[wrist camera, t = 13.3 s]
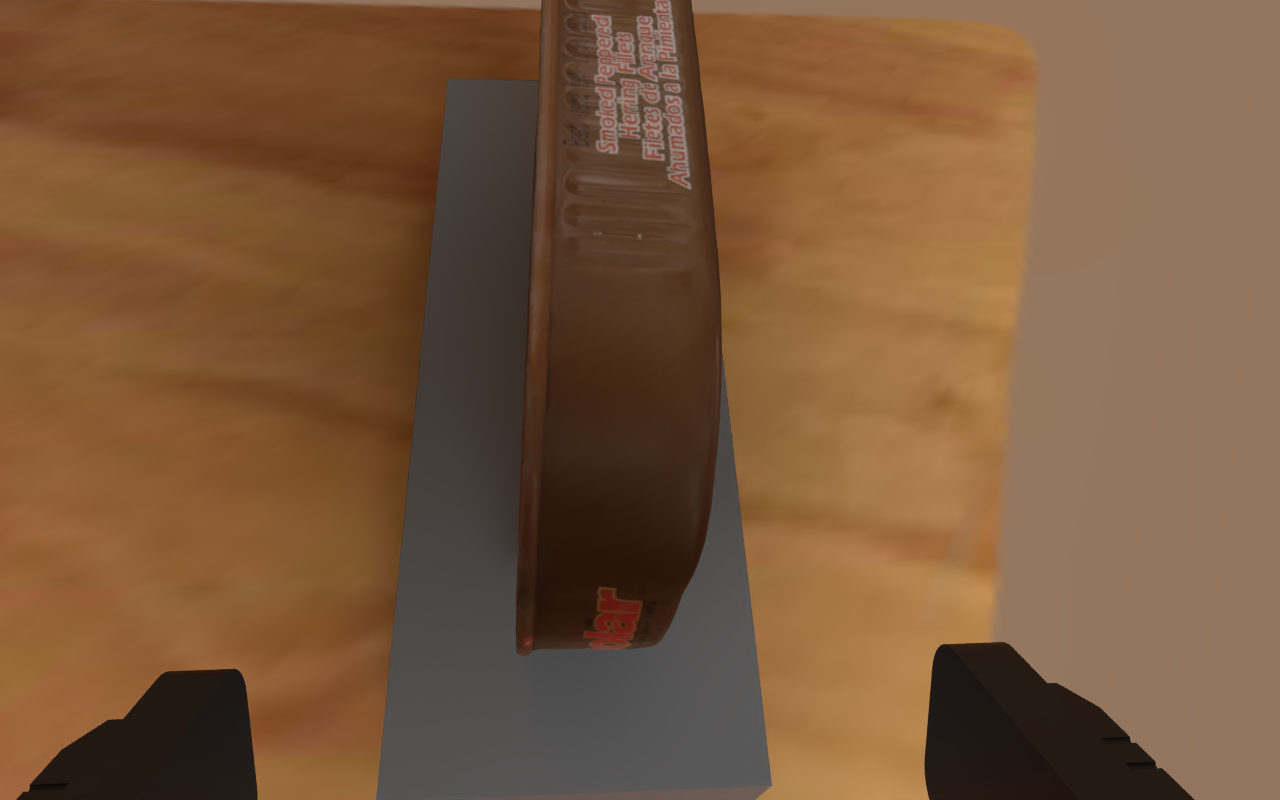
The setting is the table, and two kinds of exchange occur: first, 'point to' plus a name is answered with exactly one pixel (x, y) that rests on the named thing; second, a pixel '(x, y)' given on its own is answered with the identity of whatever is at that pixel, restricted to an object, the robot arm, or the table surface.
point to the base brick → (488, 554)
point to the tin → (617, 329)
